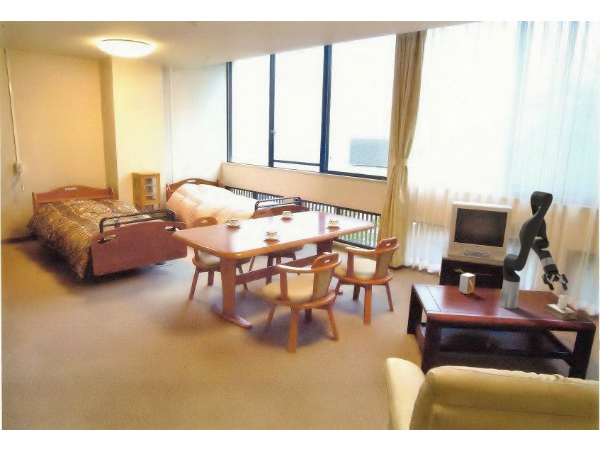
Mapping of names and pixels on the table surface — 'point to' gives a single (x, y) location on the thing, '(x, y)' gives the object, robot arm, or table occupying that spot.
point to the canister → (562, 301)
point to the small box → (467, 283)
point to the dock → (561, 312)
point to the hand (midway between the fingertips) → (559, 290)
